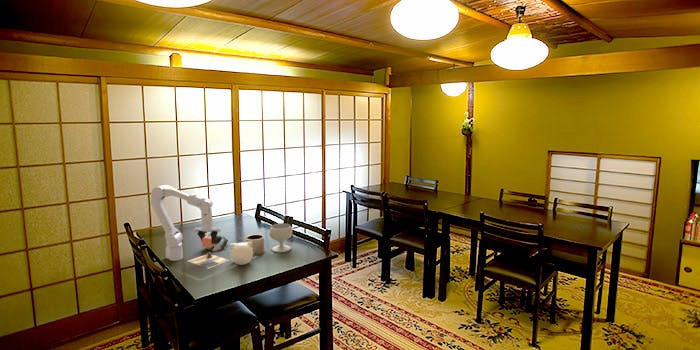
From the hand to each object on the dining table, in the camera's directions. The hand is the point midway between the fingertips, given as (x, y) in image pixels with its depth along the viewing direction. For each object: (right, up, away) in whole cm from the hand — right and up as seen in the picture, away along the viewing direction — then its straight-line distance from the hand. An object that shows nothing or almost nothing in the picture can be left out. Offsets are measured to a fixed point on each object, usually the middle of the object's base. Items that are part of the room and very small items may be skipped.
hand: (208, 243), depth 218 cm
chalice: (+39, -7, +17) cm, 43 cm away
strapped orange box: (0, -1, 0) cm, 1 cm away
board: (+1, -10, -3) cm, 11 cm away
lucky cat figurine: (-2, -7, +16) cm, 18 cm away
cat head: (+21, -11, -6) cm, 24 cm away
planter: (+24, -8, +13) cm, 28 cm away
